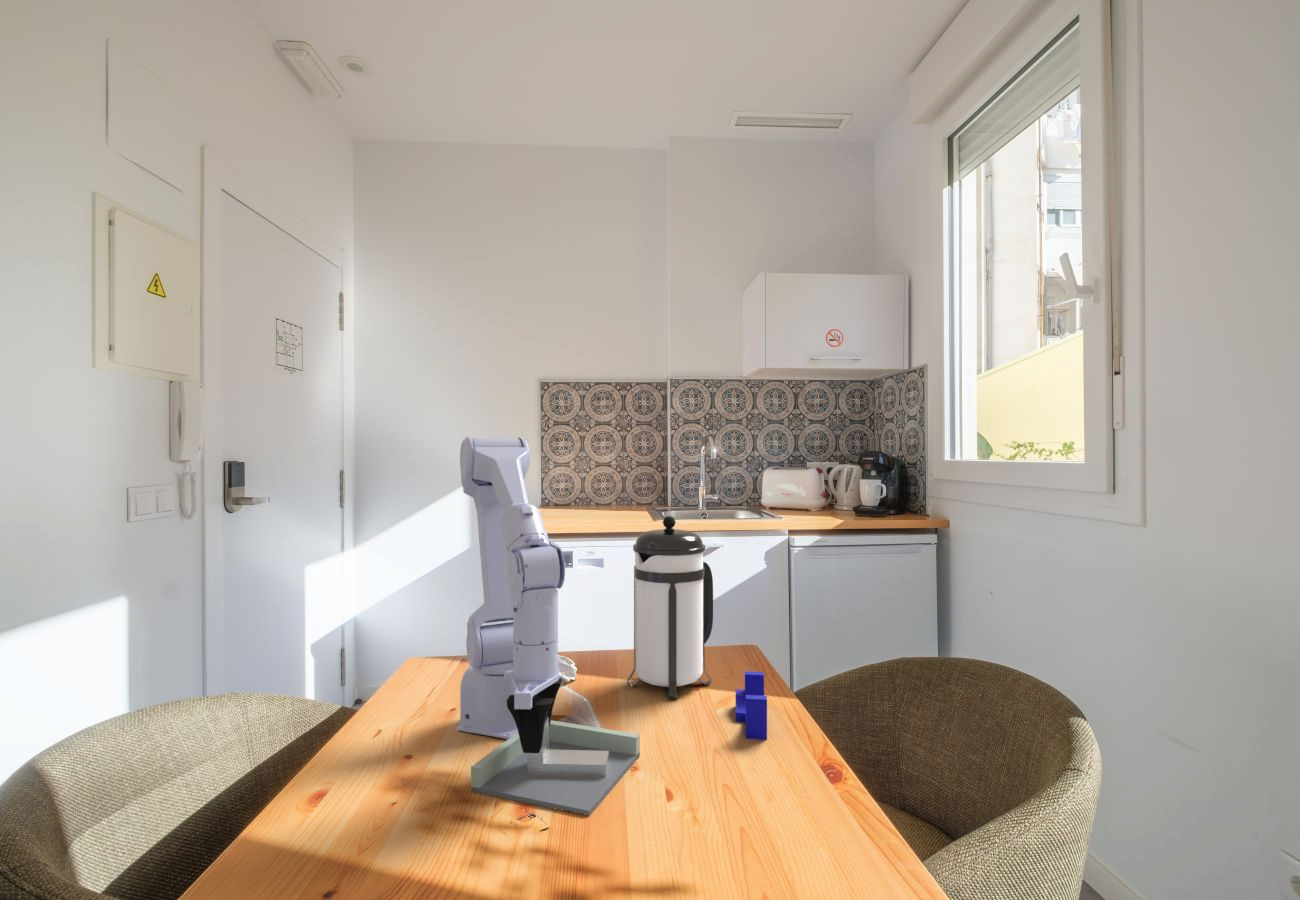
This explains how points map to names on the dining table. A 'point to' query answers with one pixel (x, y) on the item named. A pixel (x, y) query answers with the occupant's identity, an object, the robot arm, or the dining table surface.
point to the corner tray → (578, 794)
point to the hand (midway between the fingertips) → (535, 743)
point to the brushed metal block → (566, 761)
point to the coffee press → (671, 607)
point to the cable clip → (753, 706)
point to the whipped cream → (566, 668)
